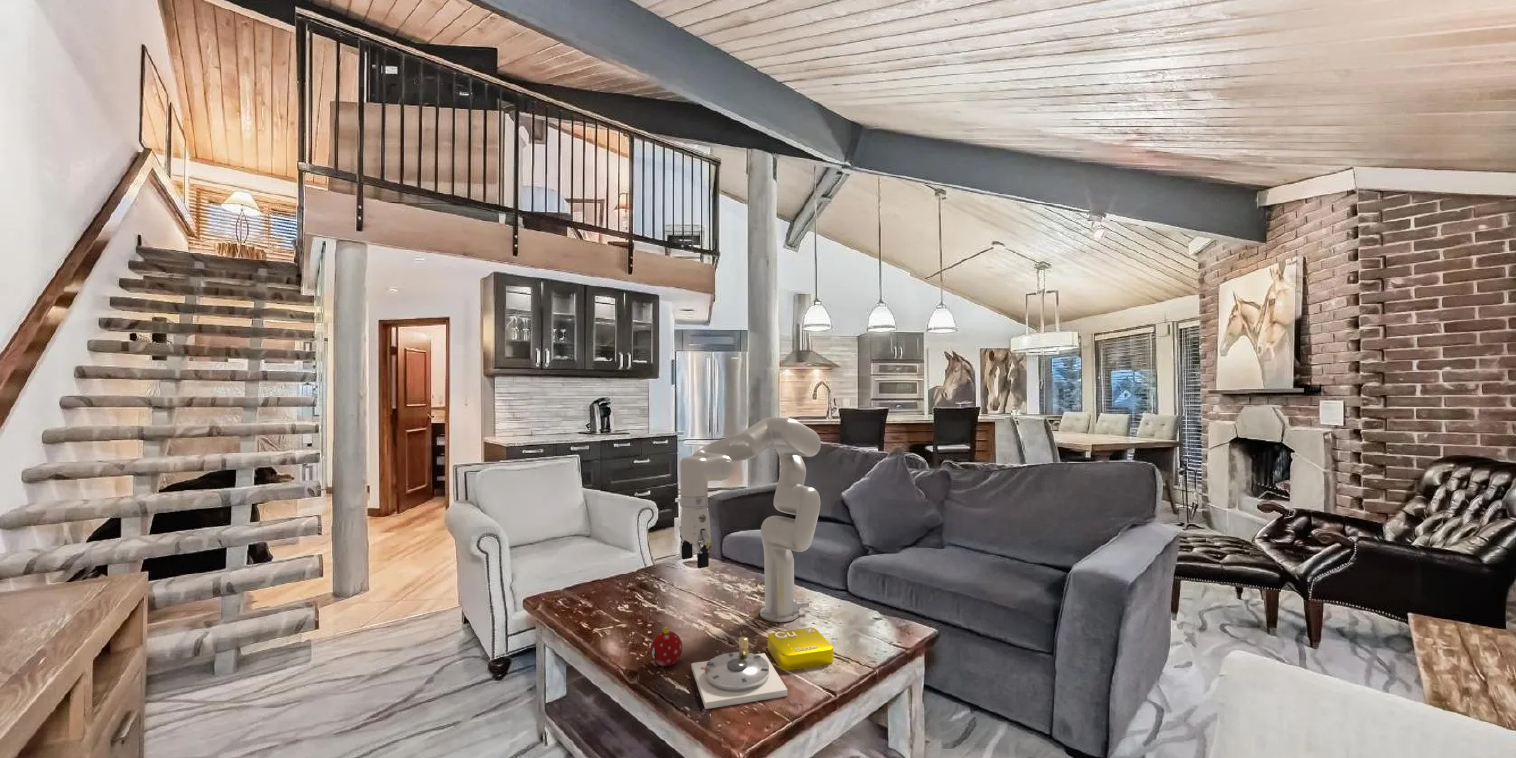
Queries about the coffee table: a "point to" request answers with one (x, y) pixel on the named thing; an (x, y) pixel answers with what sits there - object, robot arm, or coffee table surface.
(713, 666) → the rotary dial
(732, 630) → the coffee table surface
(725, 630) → the coffee table surface
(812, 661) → the element tile
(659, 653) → the christmas ornament
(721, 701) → the base plate
